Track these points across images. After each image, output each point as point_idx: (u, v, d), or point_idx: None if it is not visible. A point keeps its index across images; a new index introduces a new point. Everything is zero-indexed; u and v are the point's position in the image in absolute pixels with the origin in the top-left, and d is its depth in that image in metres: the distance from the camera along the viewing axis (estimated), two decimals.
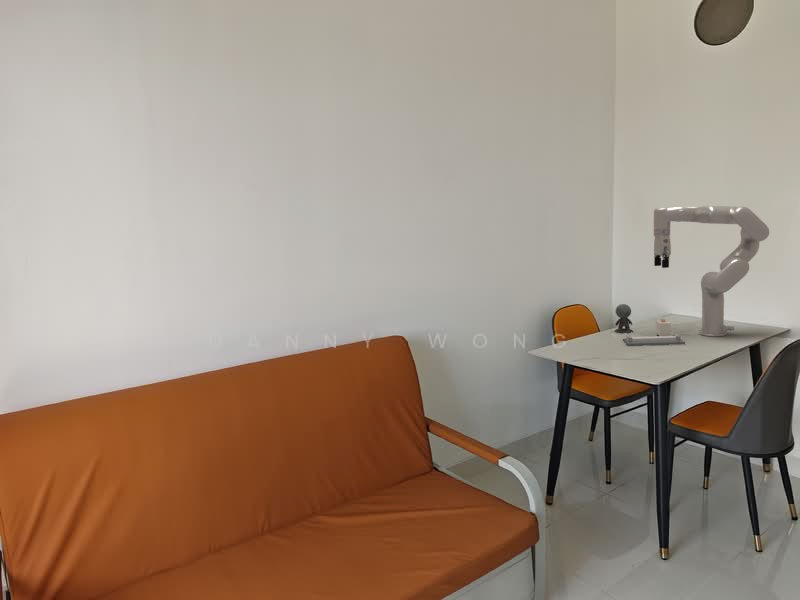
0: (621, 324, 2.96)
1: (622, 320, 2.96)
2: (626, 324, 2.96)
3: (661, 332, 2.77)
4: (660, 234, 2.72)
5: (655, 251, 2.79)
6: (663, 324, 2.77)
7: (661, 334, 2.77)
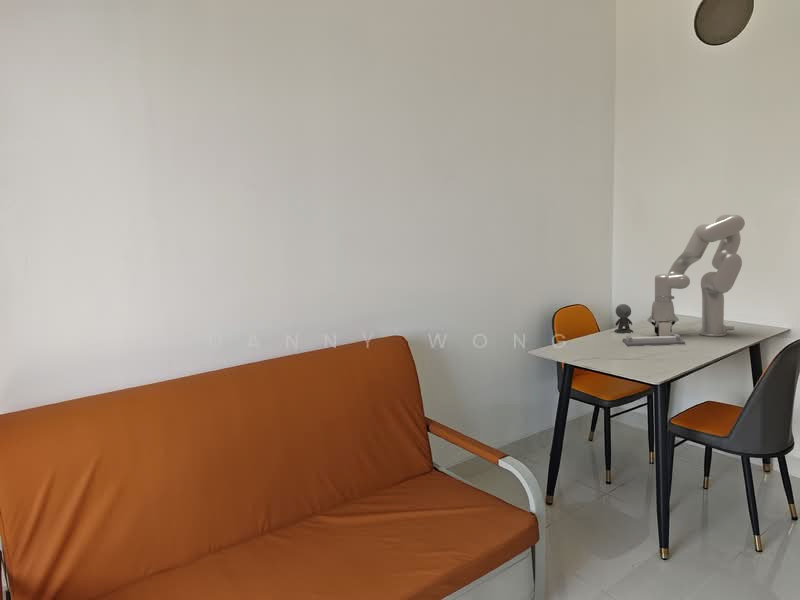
0: (621, 324, 2.96)
1: (622, 320, 2.96)
2: (626, 324, 2.96)
3: (661, 332, 2.77)
4: (670, 300, 2.76)
5: (659, 318, 2.78)
6: (663, 324, 2.77)
7: (661, 334, 2.77)
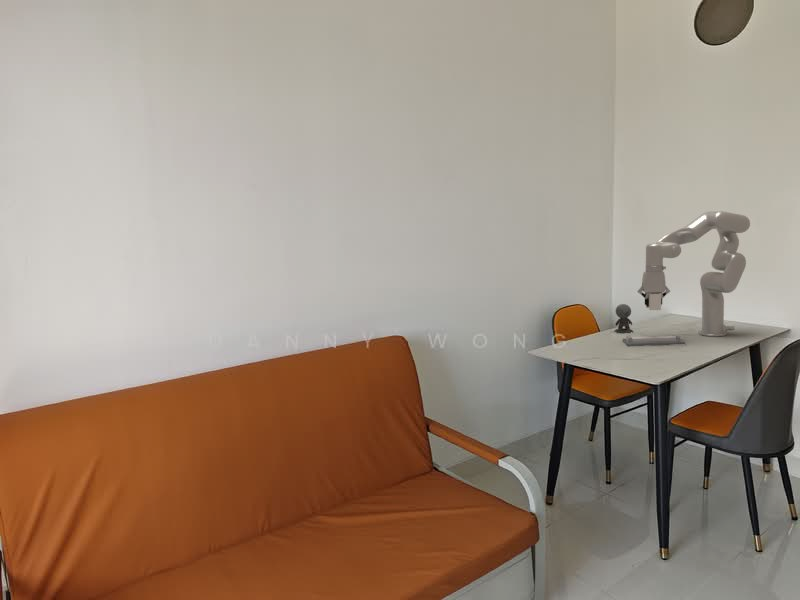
0: (621, 324, 2.96)
1: (622, 320, 2.96)
2: (626, 324, 2.96)
3: (651, 303, 2.66)
4: (662, 270, 2.65)
5: (649, 289, 2.67)
6: (653, 295, 2.65)
7: (651, 306, 2.66)
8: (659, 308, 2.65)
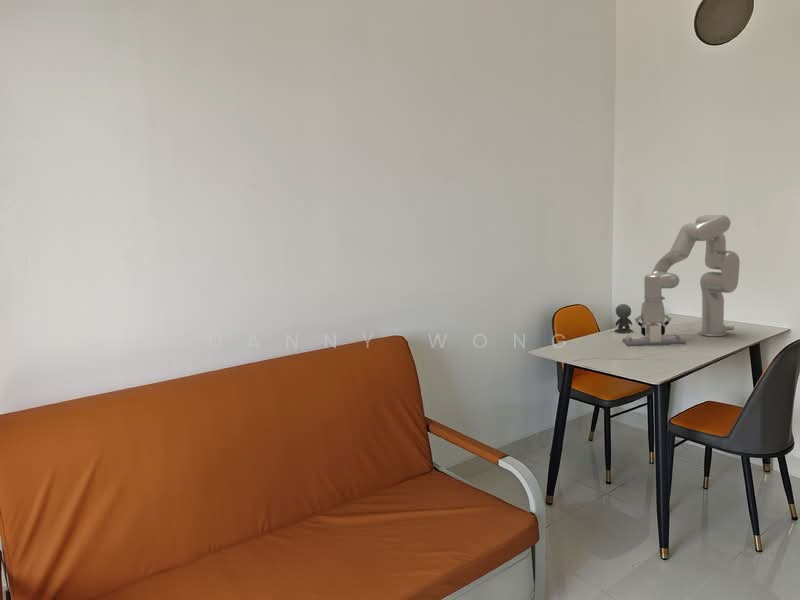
0: (621, 324, 2.96)
1: (622, 320, 2.96)
2: (626, 324, 2.96)
3: (651, 336, 2.66)
4: None
5: (649, 319, 2.67)
6: (653, 327, 2.66)
7: (651, 338, 2.67)
8: (659, 340, 2.66)
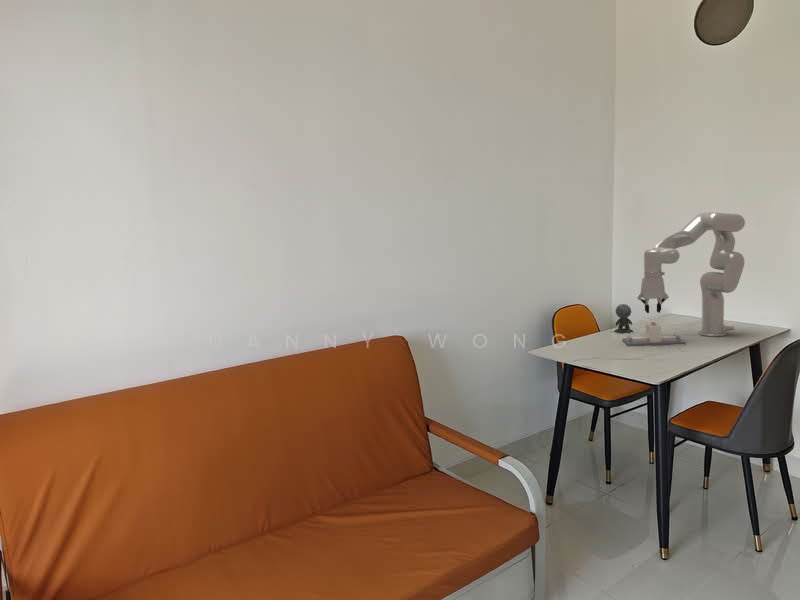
0: (621, 324, 2.96)
1: (622, 320, 2.96)
2: (626, 324, 2.96)
3: (651, 336, 2.66)
4: (661, 276, 2.63)
5: (649, 295, 2.65)
6: (653, 327, 2.66)
7: (651, 338, 2.67)
8: (659, 340, 2.66)
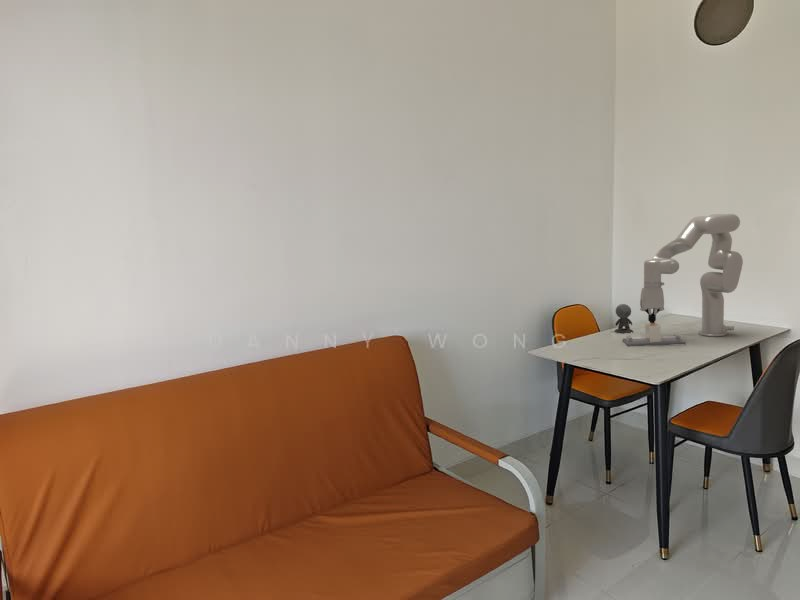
0: (621, 324, 2.96)
1: (622, 320, 2.96)
2: (626, 324, 2.96)
3: (651, 336, 2.66)
4: (660, 286, 2.64)
5: (648, 305, 2.66)
6: (653, 327, 2.66)
7: (651, 338, 2.67)
8: (659, 340, 2.66)
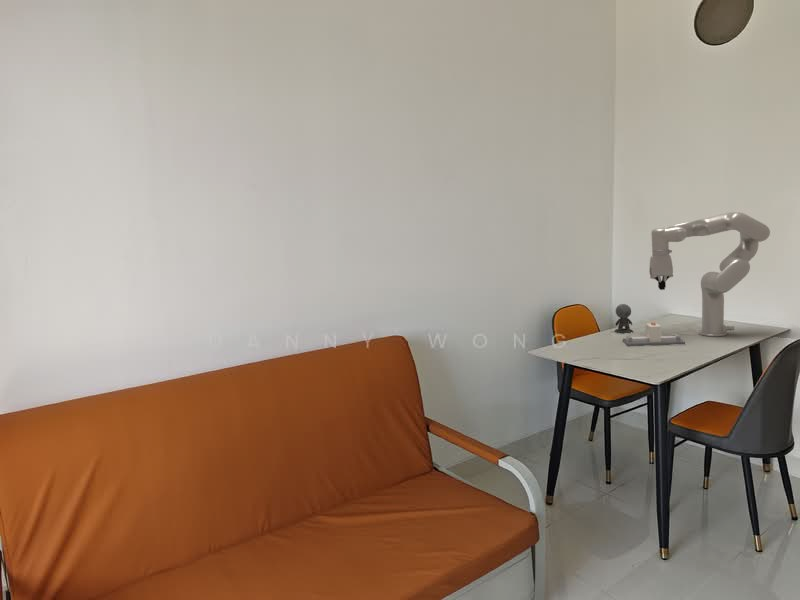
0: (621, 324, 2.96)
1: (622, 320, 2.96)
2: (626, 324, 2.96)
3: (651, 336, 2.66)
4: (668, 254, 2.73)
5: (658, 272, 2.75)
6: (653, 327, 2.66)
7: (651, 338, 2.67)
8: (659, 340, 2.66)
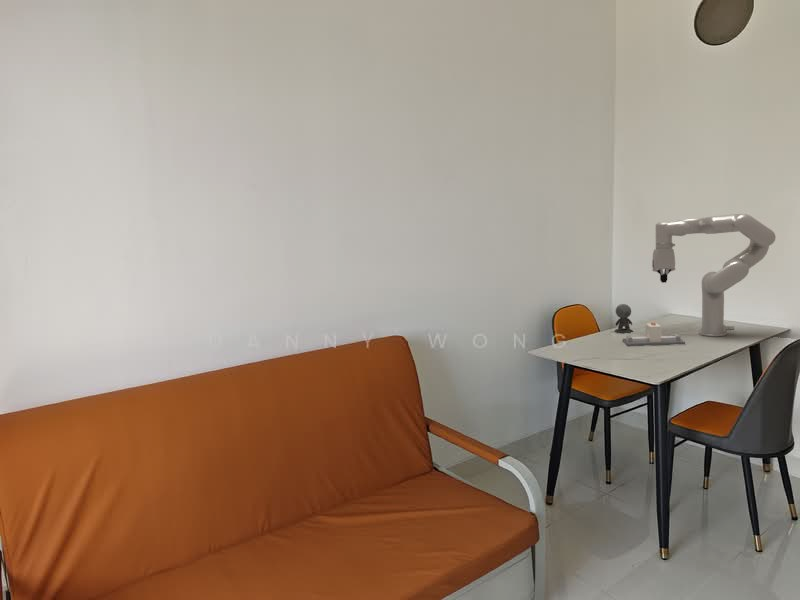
0: (621, 324, 2.96)
1: (622, 320, 2.96)
2: (626, 324, 2.96)
3: (651, 336, 2.66)
4: (671, 247, 2.78)
5: (660, 265, 2.80)
6: (653, 327, 2.66)
7: (651, 338, 2.67)
8: (659, 340, 2.66)
